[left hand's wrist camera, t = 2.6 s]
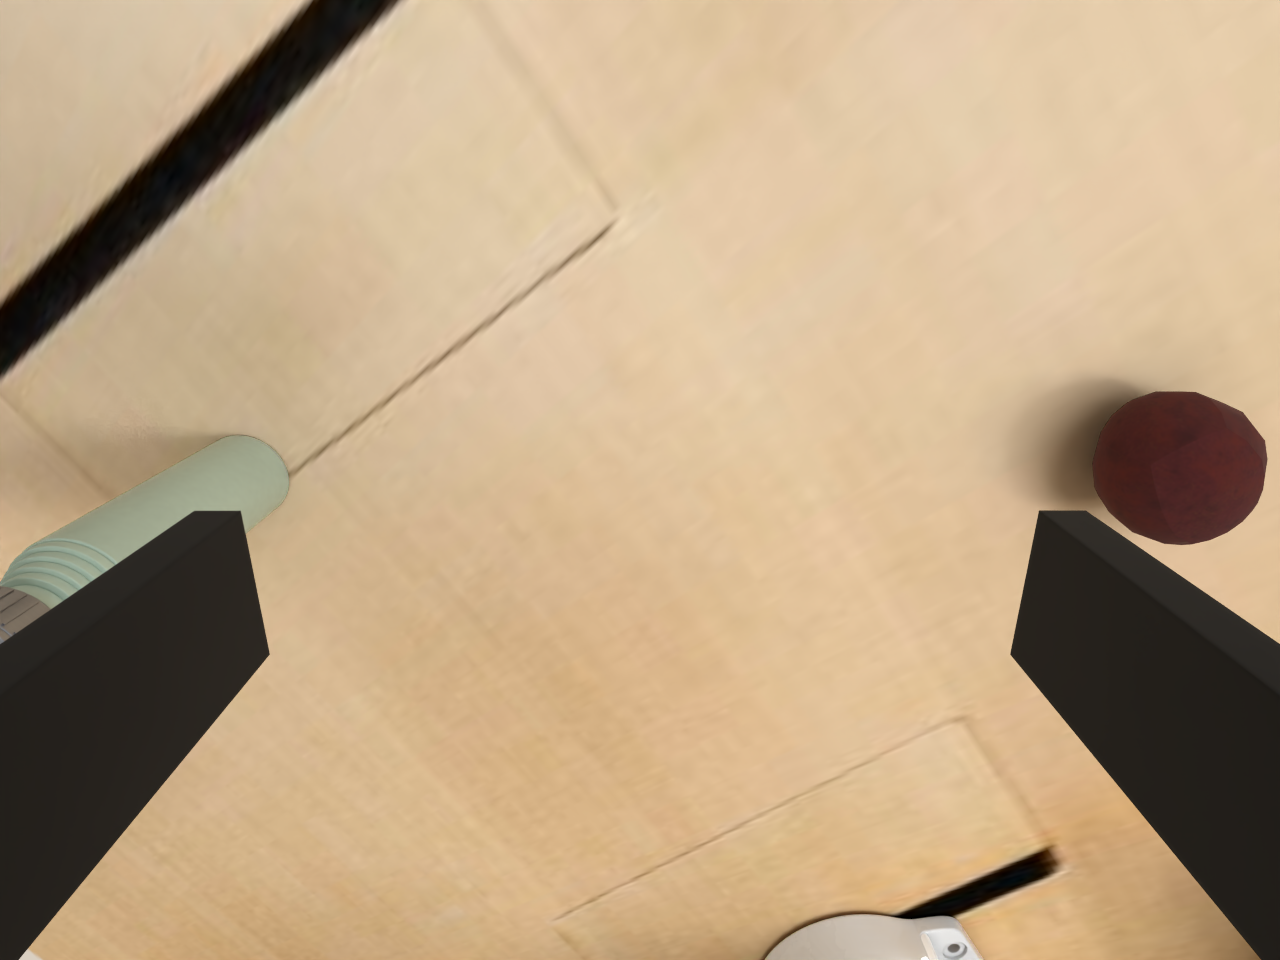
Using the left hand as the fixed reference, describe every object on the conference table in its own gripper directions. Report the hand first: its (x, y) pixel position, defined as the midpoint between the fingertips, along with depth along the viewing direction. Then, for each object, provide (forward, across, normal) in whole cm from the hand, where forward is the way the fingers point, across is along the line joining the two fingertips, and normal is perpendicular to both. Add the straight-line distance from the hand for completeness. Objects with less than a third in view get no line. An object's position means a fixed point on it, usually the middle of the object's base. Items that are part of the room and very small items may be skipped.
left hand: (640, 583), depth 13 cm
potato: (+28, +27, -6) cm, 39 cm away
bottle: (+28, -22, -8) cm, 36 cm away
